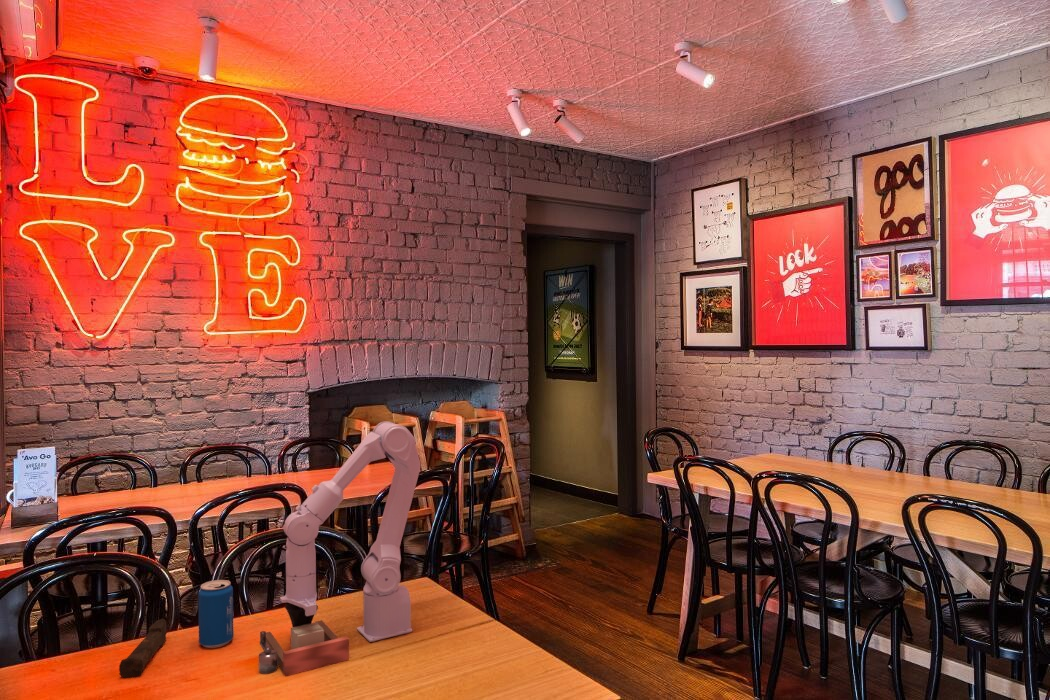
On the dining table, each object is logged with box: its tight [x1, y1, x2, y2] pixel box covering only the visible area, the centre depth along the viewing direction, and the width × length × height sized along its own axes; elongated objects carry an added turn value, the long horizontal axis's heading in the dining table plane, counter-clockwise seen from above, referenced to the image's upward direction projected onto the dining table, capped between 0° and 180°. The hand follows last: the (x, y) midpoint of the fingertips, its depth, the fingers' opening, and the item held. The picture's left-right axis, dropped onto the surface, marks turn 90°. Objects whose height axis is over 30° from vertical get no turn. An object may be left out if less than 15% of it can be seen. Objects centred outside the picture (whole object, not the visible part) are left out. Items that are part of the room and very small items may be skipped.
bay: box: [266, 619, 350, 677], centre depth 138 cm, size 12×17×4 cm
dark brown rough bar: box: [118, 618, 167, 679], centre depth 137 cm, size 19×4×5 cm, turn 8°
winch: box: [258, 630, 278, 675], centre depth 132 cm, size 3×6×6 cm, turn 33°
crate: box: [290, 621, 324, 650], centre depth 137 cm, size 5×5×5 cm
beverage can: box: [197, 579, 234, 649], centre depth 143 cm, size 6×6×12 cm
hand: (301, 640), depth 140 cm, fingers closed
